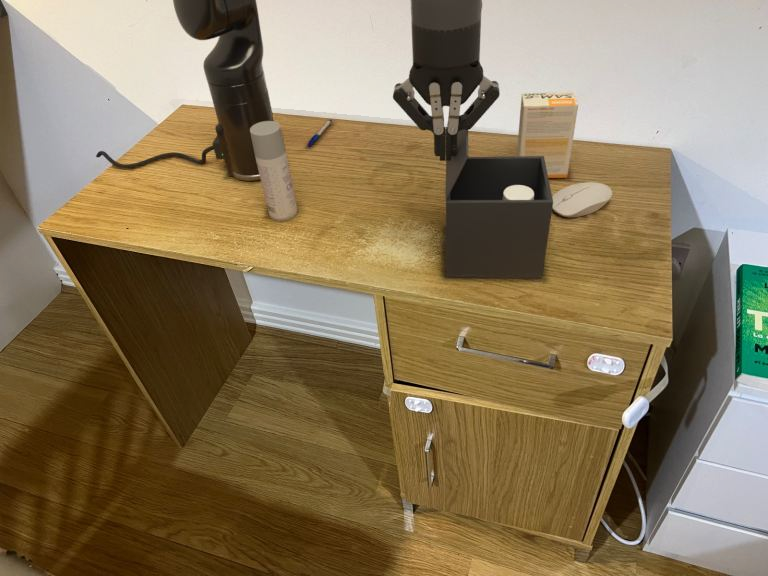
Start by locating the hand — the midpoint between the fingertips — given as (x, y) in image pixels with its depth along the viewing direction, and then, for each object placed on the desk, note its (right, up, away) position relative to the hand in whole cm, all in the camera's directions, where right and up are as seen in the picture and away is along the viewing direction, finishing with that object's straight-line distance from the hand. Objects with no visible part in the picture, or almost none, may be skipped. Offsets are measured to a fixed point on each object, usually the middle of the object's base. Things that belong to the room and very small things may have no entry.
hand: (445, 157), depth 75 cm
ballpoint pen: (-20, +13, +40) cm, 47 cm away
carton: (+8, -12, +10) cm, 17 cm away
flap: (+2, 0, 0) cm, 2 cm away
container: (-24, -4, +21) cm, 32 cm away
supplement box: (+19, +3, +25) cm, 31 cm away
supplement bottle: (+10, -11, +9) cm, 18 cm away
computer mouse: (+23, -4, +17) cm, 29 cm away
